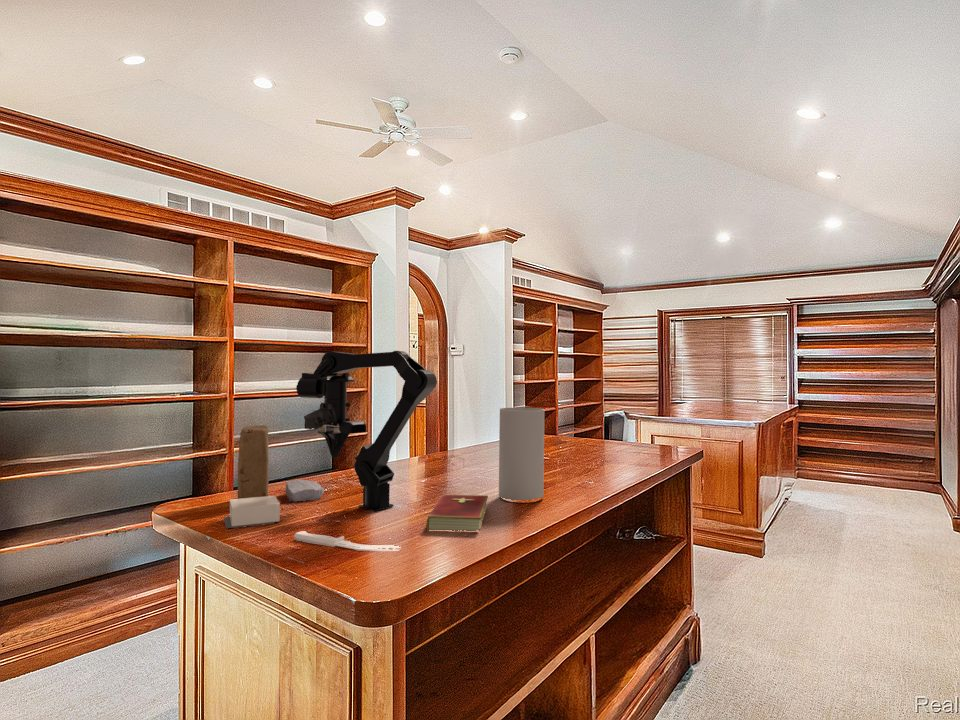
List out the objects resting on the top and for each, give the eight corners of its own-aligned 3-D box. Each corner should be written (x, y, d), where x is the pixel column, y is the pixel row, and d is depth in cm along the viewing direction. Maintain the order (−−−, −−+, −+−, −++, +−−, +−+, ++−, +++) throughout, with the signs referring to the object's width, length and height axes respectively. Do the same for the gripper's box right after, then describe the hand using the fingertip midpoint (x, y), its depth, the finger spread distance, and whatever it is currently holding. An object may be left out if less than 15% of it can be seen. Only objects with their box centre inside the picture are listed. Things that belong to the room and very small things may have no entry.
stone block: (317, 497, 159) (281, 493, 154) (321, 481, 159) (285, 476, 155) (325, 508, 148) (287, 504, 144) (329, 490, 149) (292, 486, 144)
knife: (440, 546, 109) (422, 558, 102) (439, 554, 109) (422, 566, 102) (316, 523, 120) (292, 533, 113) (316, 531, 120) (292, 541, 113)
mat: (269, 513, 133) (269, 512, 133) (274, 523, 125) (274, 522, 125) (224, 518, 128) (224, 516, 128) (225, 529, 120) (226, 527, 120)
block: (267, 505, 141) (268, 428, 142) (235, 507, 139) (237, 428, 139) (269, 496, 151) (270, 424, 152) (240, 497, 149) (241, 424, 149)
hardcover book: (426, 533, 120) (426, 514, 120) (441, 509, 141) (441, 493, 141) (480, 535, 119) (480, 516, 119) (487, 511, 140) (487, 494, 140)
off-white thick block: (274, 495, 133) (229, 499, 129) (279, 503, 125) (232, 508, 121) (274, 512, 133) (229, 516, 129) (279, 521, 125) (231, 526, 121)
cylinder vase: (498, 493, 159) (499, 407, 159) (541, 494, 158) (542, 407, 159) (498, 503, 146) (499, 410, 147) (545, 504, 146) (546, 411, 146)
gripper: (287, 398, 144) (286, 457, 143) (333, 401, 133) (332, 466, 132) (322, 397, 153) (321, 452, 152) (368, 400, 142) (367, 460, 142)
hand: (334, 457), depth 144 cm, fingers closed
